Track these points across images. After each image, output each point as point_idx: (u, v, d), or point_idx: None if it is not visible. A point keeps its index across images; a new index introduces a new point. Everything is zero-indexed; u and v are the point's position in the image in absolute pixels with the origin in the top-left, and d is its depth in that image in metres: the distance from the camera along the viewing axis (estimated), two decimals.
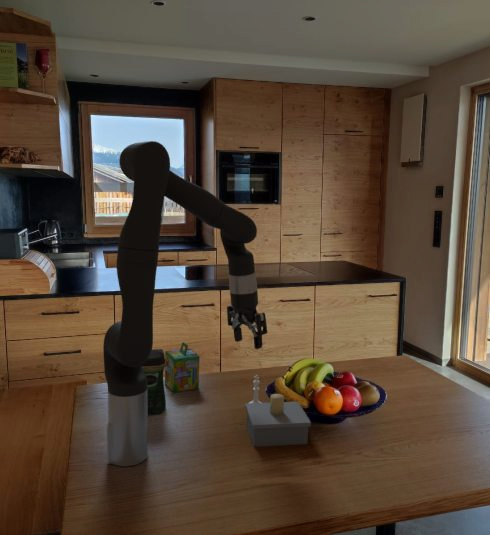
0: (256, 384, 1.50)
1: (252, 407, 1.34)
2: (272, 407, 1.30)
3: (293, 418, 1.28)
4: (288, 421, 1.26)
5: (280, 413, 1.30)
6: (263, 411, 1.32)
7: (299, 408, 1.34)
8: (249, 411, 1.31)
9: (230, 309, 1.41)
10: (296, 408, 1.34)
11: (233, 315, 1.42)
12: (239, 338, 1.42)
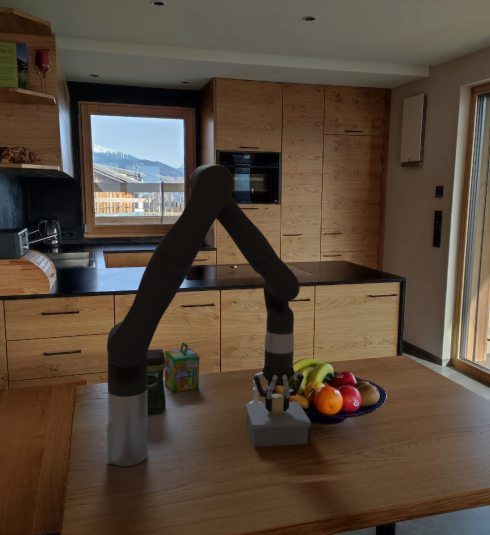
0: None
1: (252, 407, 1.34)
2: (272, 407, 1.30)
3: (293, 418, 1.28)
4: (288, 421, 1.26)
5: (280, 413, 1.30)
6: (263, 411, 1.32)
7: (299, 408, 1.34)
8: (249, 411, 1.31)
9: (258, 378, 1.28)
10: (296, 408, 1.34)
11: None
12: None
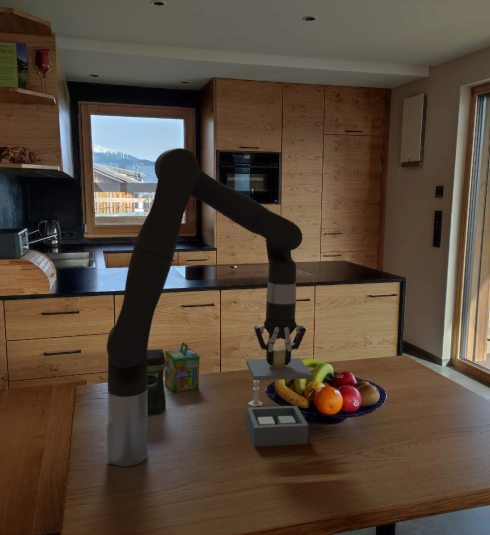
0: (256, 384, 1.50)
1: (253, 362, 1.32)
2: (273, 360, 1.28)
3: (295, 371, 1.26)
4: (290, 374, 1.24)
5: (281, 366, 1.28)
6: (264, 365, 1.30)
7: (300, 363, 1.32)
8: (250, 365, 1.30)
9: (260, 330, 1.26)
10: (298, 363, 1.32)
11: None
12: None
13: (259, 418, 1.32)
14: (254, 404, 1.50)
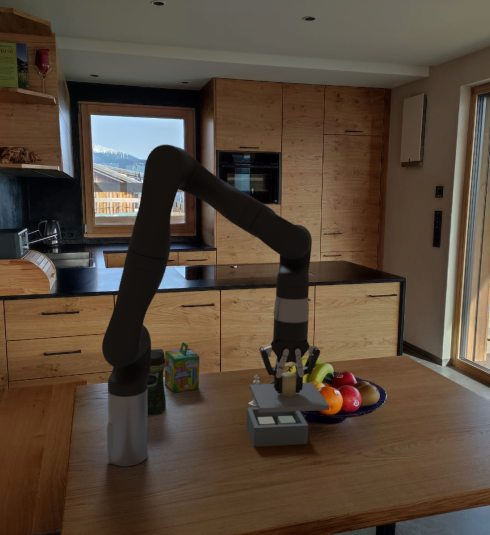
0: None
1: (258, 388, 1.13)
2: (282, 388, 1.09)
3: (308, 400, 1.07)
4: (302, 404, 1.05)
5: (292, 395, 1.09)
6: (272, 393, 1.11)
7: (314, 390, 1.13)
8: (255, 393, 1.11)
9: (266, 352, 1.07)
10: (310, 389, 1.14)
11: None
12: None
13: (259, 418, 1.32)
14: (254, 404, 1.50)
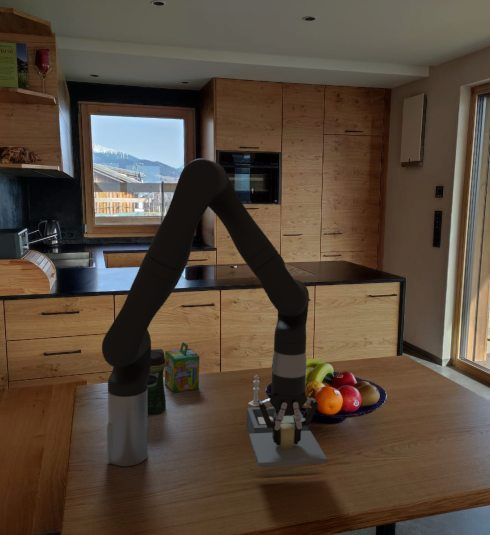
0: (256, 384, 1.50)
1: (257, 438, 1.15)
2: (281, 440, 1.11)
3: (306, 453, 1.09)
4: (301, 457, 1.07)
5: (290, 447, 1.11)
6: (270, 444, 1.13)
7: (312, 440, 1.15)
8: (254, 444, 1.12)
9: (265, 406, 1.09)
10: (309, 439, 1.15)
11: None
12: None
13: (259, 418, 1.32)
14: (254, 404, 1.50)
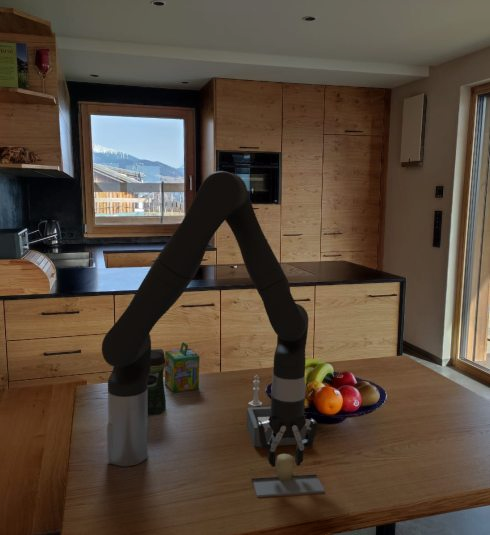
0: (256, 384, 1.50)
1: None
2: (279, 471, 1.12)
3: (304, 484, 1.10)
4: (298, 489, 1.08)
5: (288, 478, 1.12)
6: None
7: None
8: None
9: (263, 427, 1.10)
10: None
11: None
12: None
13: (259, 418, 1.32)
14: (254, 404, 1.50)
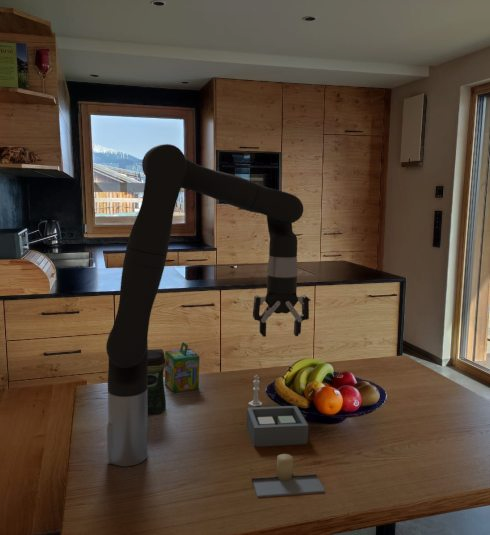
0: (256, 384, 1.50)
1: None
2: (279, 471, 1.12)
3: (304, 484, 1.10)
4: (299, 489, 1.08)
5: (288, 478, 1.12)
6: None
7: None
8: None
9: None
10: None
11: None
12: None
13: (259, 418, 1.32)
14: (254, 404, 1.50)
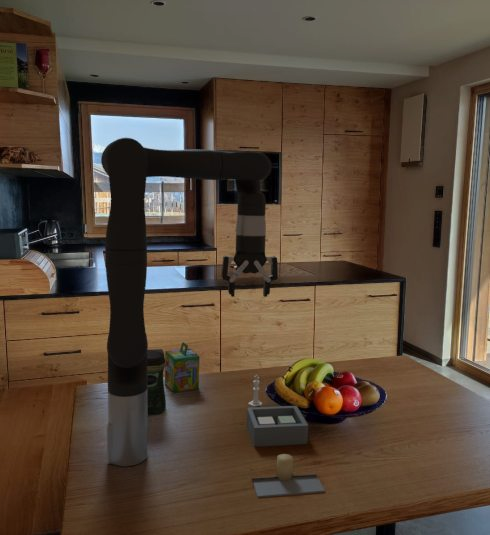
0: (256, 384, 1.50)
1: None
2: (279, 471, 1.12)
3: (304, 484, 1.10)
4: (299, 489, 1.08)
5: (288, 478, 1.12)
6: None
7: None
8: None
9: None
10: None
11: None
12: None
13: (259, 418, 1.32)
14: (254, 404, 1.50)
